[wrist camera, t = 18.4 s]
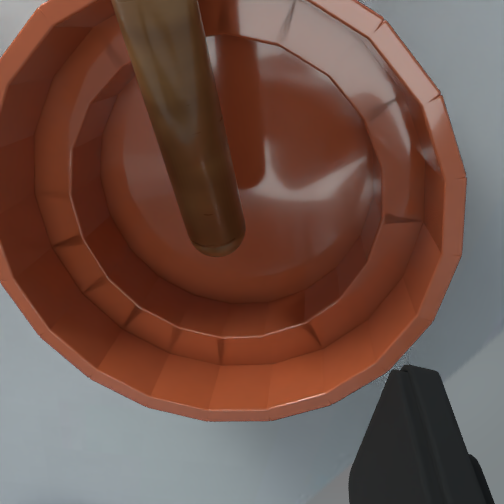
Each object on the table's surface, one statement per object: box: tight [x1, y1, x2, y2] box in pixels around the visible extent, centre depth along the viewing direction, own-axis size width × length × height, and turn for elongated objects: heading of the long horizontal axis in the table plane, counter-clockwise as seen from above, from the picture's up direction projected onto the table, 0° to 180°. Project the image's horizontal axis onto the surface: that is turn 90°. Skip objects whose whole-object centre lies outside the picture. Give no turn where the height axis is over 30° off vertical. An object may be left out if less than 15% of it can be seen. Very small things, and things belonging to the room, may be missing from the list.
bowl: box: [0, 0, 467, 422], centre depth 18 cm, size 15×15×6 cm
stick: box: [111, 0, 246, 257], centre depth 12 cm, size 2×2×16 cm
